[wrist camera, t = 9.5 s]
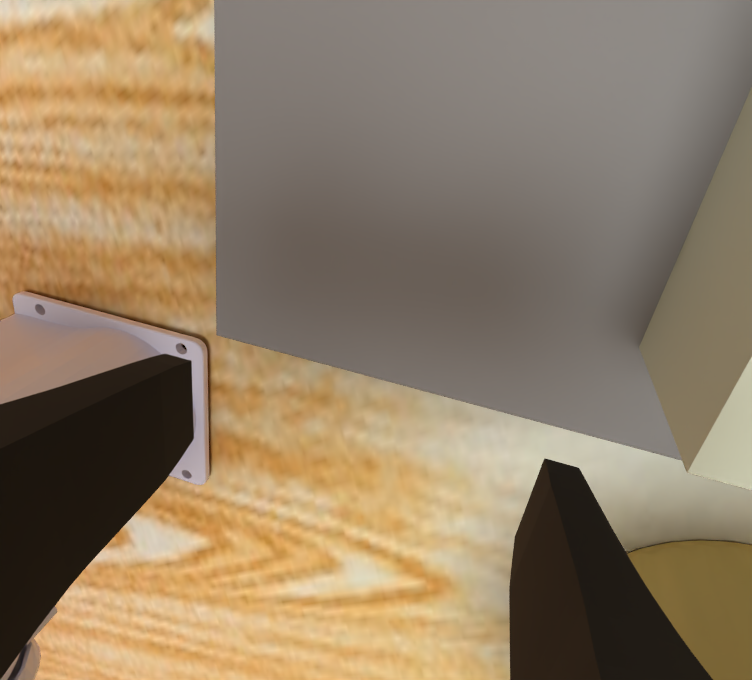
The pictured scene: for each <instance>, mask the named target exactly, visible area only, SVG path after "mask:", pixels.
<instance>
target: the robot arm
mask: <svg viewBox="0 0 752 680" xmlns="http://www.w3.org/2000/svg"><path fill="white" fill-rule="evenodd" d="M13 306H14V311H15V314H13V315H11V316H9V317H7V318H4V319H2V320H0V680H35V677H36V674H37V671H38V668H39V664H40V658H41V653H40V647H39V645H38V643H37V642H36V641H35V639H34V637H35V636H36V635H37V634H38V633H39V632H40V631H41V629H42V628H43V627H44V626H45V625H46V624H47V623H48V622H49V621H50V620H51V618H52V617H53V616H54V615H55V614H56V613H57V608H56V607H55V605H56V604H57V602H58V601H59V600H60V598H61V597H62V596H63V594H64V593H65V592H66V590H67V589H68V588H69V586H70V585H71V584H72V583H73V582H74V581H75V579H76V578H77V577H78V576H79V575H80V574H81V572H82V571H83V570H84V569H85V568H86V566H87V565H88V564H89V563H90V562H91V561H92V560H93V559H94V558H95V557H96V556H97V554H98V553H99V552H100V551H101V550H102V549H103V548H104V547H105V546H106V545H107V544H108V542H109V541H110V540H111V539H112V538H113V537H114V536H115V535H116V534H117V533H118V532H119V531H120V529H121V528H122V527H123V526H124V525H125V524H126V523H127V522H128V521H129V520H130V519H131V518H132V516H133V515H134V514H135V513H136V512H137V511H138V510H139V509H140V508H141V507H142V505H143V504H144V503H145V502H146V501H147V500H148V499H149V498H150V497H151V496H152V494H153V493H154V492H155V491H156V490H157V489H158V488H159V487H160V485H161V484H162V483H163V482H164V481H165V480H166V479H167V477H168V476H172V477H175V478H178V479H181V480H184V481H188V482H191V483H194V484H197V485H203V484H204V483H205V482H206V481H207V480H208V479H209V423H208V362H207V347H206V345H205V344H204V342H202V341H201V340H200V339H198V338H195V337H191V336H188V335H184V334H180V333H177V332H173V331H169V330H166V329H162V328H158V327H155V326H151V325H147V324H144V323H140V322H136V321H133V320H129V319H125V318H122V317H118V316H114V315H111V314H107V313H103V312H100V311H96V310H92V309H89V308H85V307H81V306H78V305H74V304H70V303H67V302H63V301H59V300H56V299H52V298H48V297H45V296H41V295H37V294H34V293H30V292H26V291H22V292H19V293H17V294H15V295H14V296H13ZM43 307H44V308H43ZM182 344H183V345H185V347H186V349H187V350H186V349H184V348H183V347H182ZM510 680H713V679H712V678H711V676H710V675H709V674H708V672H707V671H706V670H705V669H704V667H703V666H702V665H701V663H700V662H699V661H698V659H697V658H696V657H695V656H694V654H693V653H692V652H691V650H690V649H689V647H688V646H687V645H686V643H685V642H684V641H683V639H682V638H681V636H680V635H679V634H678V632H677V631H676V629H675V628H674V627H673V625H672V624H671V622H670V621H669V619H668V618H667V616H666V615H665V613H664V612H663V610H662V609H661V607H660V606H659V604H658V603H657V601H656V600H655V598H654V597H653V595H652V594H651V592H650V591H649V589H648V588H647V586H646V584H645V583H644V581H643V580H642V578H641V577H640V575H639V573H638V572H637V570H636V568H635V567H634V565H633V563H632V562H631V560H630V558H629V557H628V555H627V553H626V552H625V550H624V548H623V547H622V545H621V543H620V542H619V540H618V538H617V536H616V535H615V533H614V531H613V529H612V528H611V526H610V524H609V522H608V520H607V519H606V517H605V515H604V513H603V511H602V509H601V508H600V506H599V504H598V502H597V500H596V498H595V497H594V495H593V493H592V491H591V489H590V487H589V485H588V484H587V482H586V480H585V478H584V476H583V474H582V473H581V471H580V469H579V468H577V467H574V466H570V465H566V464H563V463H559V462H555V461H552V460H548V459H544V461H543V464H542V467H541V469H540V472H539V475H538V477H537V480H536V483H535V485H534V488H533V491H532V493H531V496H530V499H529V501H528V504H527V506H526V509H525V512H524V514H523V517H522V520H521V522H520V525H519V528H518V530H517V533H516V536H515V542H514V550H513V559H512V568H511V579H510Z"/></svg>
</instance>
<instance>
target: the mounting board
mask: <svg viewBox="0 0 752 680" xmlns="http://www.w3.org/2000/svg"><path fill="white" fill-rule="evenodd" d="M214 9H215V163H216V317H217V335H218V336H222V337H225V338H229V339H233V340H237V341H240V342H244V343H248V344H251V345H255V346H259V347H263V348H266V349H270V350H274V351H277V352H281V353H285V354H289V355H292V356H296V357H300V358H303V359H307V360H311V361H315V362H318V363H322V364H326V365H329V366H333V367H337V368H341V369H344V370H348V371H352V372H355V373H359V374H363V375H367V376H370V377H374V378H378V379H381V380H385V381H389V382H392V383H396V384H400V385H404V386H407V387H411V388H415V389H418V390H422V391H426V392H430V393H433V394H437V395H441V396H444V397H448V398H452V399H456V400H459V401H463V402H467V403H470V404H474V405H478V406H482V407H485V408H489V409H493V410H496V411H500V412H504V413H508V414H511V415H515V416H519V417H522V418H526V419H530V420H534V421H537V422H541V423H545V424H548V425H552V426H556V427H560V428H563V429H567V430H571V431H574V432H578V433H582V434H586V435H589V436H593V437H597V438H600V439H604V440H608V441H612V442H615V443H619V444H623V445H626V446H630V447H634V448H638V449H641V450H645V451H649V452H652V453H656V454H660V455H664V456H667V457H671V458H675V459H678V460H682V458H681V456H680V453H679V450H678V448H677V445H676V443H675V440H674V437H673V435H672V432H671V430H670V427H669V424H668V422H667V419H666V416H665V414H664V411H663V409H662V406H661V403H660V401H659V398H658V396H657V393H656V390H655V388H654V385H653V382H652V380H651V377H650V375H649V372H648V369H647V367H646V364H645V362H644V359H643V356H642V354H641V351H640V349H639V346H640V344H641V342H642V339H643V337H644V335H645V332H646V330H647V328H648V325H649V323H650V321H651V318H652V316H653V314H654V312H655V309H656V307H657V305H658V302H659V300H660V298H661V295H662V293H663V291H664V288H665V286H666V284H667V281H668V279H669V277H670V275H671V272H672V270H673V268H674V265H675V263H676V261H677V258H678V256H679V254H680V251H681V249H682V247H683V245H684V242H685V240H686V238H687V235H688V233H689V231H690V228H691V226H692V224H693V221H694V219H695V217H696V215H697V212H698V210H699V208H700V205H701V203H702V201H703V198H704V196H705V194H706V191H707V189H708V187H709V184H710V182H711V180H712V178H713V175H714V173H715V171H716V168H717V166H718V164H719V161H720V159H721V157H722V154H723V152H724V150H725V148H726V145H727V143H728V141H729V138H730V136H731V134H732V131H733V129H734V127H735V124H736V122H737V120H738V118H739V115H740V113H741V111H742V108H743V106H744V104H745V101H746V99H747V97H748V94H749V92H750V90H751V88H752V0H214Z"/></svg>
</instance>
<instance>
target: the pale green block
mask: <svg viewBox="0 0 752 680" xmlns="http://www.w3.org/2000/svg"><path fill="white" fill-rule="evenodd" d="M639 349H640V351H641V354H642V356H643V359H644V362H645V364H646V367H647V369H648V372H649V375H650V377H651V380H652V382H653V385H654V388H655V390H656V393H657V396H658V398H659V401H660V403H661V406H662V409H663V411H664V414H665V416H666V419H667V422H668V424H669V427H670V430H671V432H672V435H673V437H674V440H675V443H676V445H677V448H678V450H679V453H680V456H681V458H682V461H683V464H684V466H685V469H686V471H687V473H690V474H693V475H697V476H701V477H704V478H708V479H712V480H715V481H719V482H723V483H726V484H730V485H734V486H737V487H741V488H745V489H748V490H752V88H751V90H750V92H749V94H748V97H747V99H746V101H745V104H744V106H743V108H742V111H741V113H740V115H739V118H738V120H737V122H736V124H735V127H734V129H733V131H732V134H731V136H730V138H729V141H728V143H727V145H726V148H725V150H724V152H723V154H722V157H721V159H720V161H719V164H718V166H717V168H716V171H715V173H714V175H713V178H712V180H711V182H710V184H709V187H708V189H707V191H706V194H705V196H704V198H703V201H702V203H701V205H700V208H699V210H698V212H697V215H696V217H695V219H694V221H693V224H692V226H691V228H690V231H689V233H688V235H687V238H686V240H685V242H684V245H683V247H682V249H681V251H680V254H679V256H678V258H677V261H676V263H675V265H674V268H673V270H672V272H671V275H670V277H669V279H668V281H667V284H666V286H665V288H664V291H663V293H662V295H661V298H660V300H659V302H658V305H657V307H656V309H655V312H654V314H653V316H652V318H651V321H650V323H649V325H648V328H647V330H646V332H645V335H644V337H643V339H642V342H641V344H640V346H639Z"/></svg>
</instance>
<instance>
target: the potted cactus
mask: <svg viewBox="0 0 752 680" xmlns="http://www.w3.org/2000/svg"><path fill="white" fill-rule="evenodd" d="M627 555H628V557H629V558H630V560H631V562H632V563H633V565H634V567H635V568H636V570H637V572H638V573H639V575H640V577H641V578H642V580H643V581H644V583H645V584H646V586H647V588H648V589H649V591H650V592H651V594H652V595H653V597H654V598H655V600H656V601H657V603H658V604H659V606H660V607H661V609H662V610H663V612H664V613H665V615H666V616H667V618H668V619H669V621H670V622H671V624H672V625H673V627H674V628H675V629H676V631H677V632H678V634H679V635H680V636H681V638H682V639H683V641H684V642H685V643H686V645H687V646H688V647H689V649H690V650H691V652H692V653H693V654H694V656H695V657H696V658H697V659H698V661H699V662H700V663H701V665H702V666H703V667H704V669H705V670H706V671H707V672H708V674H709V675H710V676H711V678H712V679H713V680H752V545H748V544H742V543H736V542H726V541H706V540H696V541H681V542H671V543H664V544H659V545H654V546H650V547H646V548H642V549H638V550H635V551H633V552H630V553H627Z"/></svg>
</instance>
